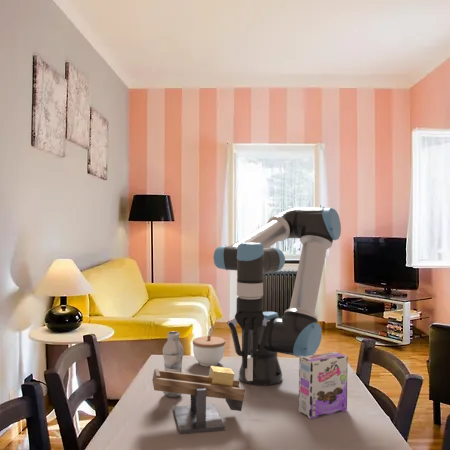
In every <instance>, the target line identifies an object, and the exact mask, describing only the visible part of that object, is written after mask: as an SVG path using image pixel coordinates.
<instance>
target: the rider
mask: <svg viewBox="0 0 450 450" xmlns="http://www.w3.org/2000/svg"><path fill="white" fill-rule="evenodd" d="M209 367H210V368H209V371H208V375H207V376H208V381H207V384H212V385H220V386H228V387H232V385H233V380H235V379H234V378H235V373H234V371H233V369H232V368H231V367H222V366H217V365H216V366H209Z"/></svg>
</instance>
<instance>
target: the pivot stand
mask: <svg viewBox="0 0 450 450" xmlns="http://www.w3.org/2000/svg"><path fill="white" fill-rule="evenodd" d="M172 408H173V409H172V410H173V414H174V418H175V421H176V426H177V429H178V433H179V435H188V434H197V433H210V432H211V433H212V432H222V431H225V430H226V427H225V424H224V422H223V421H222V418H221V416H220V414H219V412H218V409H217V408H216V406H215V404H214V403H207V397H206V389H205V388H203V389H197V395H190V404H188V405H179V406H178V405H174V406H173V407H172Z"/></svg>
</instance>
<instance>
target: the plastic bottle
mask: <svg viewBox="0 0 450 450" xmlns="http://www.w3.org/2000/svg"><path fill="white" fill-rule="evenodd" d="M166 339H167V341H166V342H165V343H164V344H163V345H164V346H163V347H162V355H163V362H164V371H171V372H179V373H183V372H182V366H183V357H184V347H183V345H182V343H181V341H180V332H179V331H168V332H167V337H166ZM162 393H163V394H164V396H165V397H168V398H177V397H180V396H182V395H183V394H181V393H173V392H164V391H162Z"/></svg>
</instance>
